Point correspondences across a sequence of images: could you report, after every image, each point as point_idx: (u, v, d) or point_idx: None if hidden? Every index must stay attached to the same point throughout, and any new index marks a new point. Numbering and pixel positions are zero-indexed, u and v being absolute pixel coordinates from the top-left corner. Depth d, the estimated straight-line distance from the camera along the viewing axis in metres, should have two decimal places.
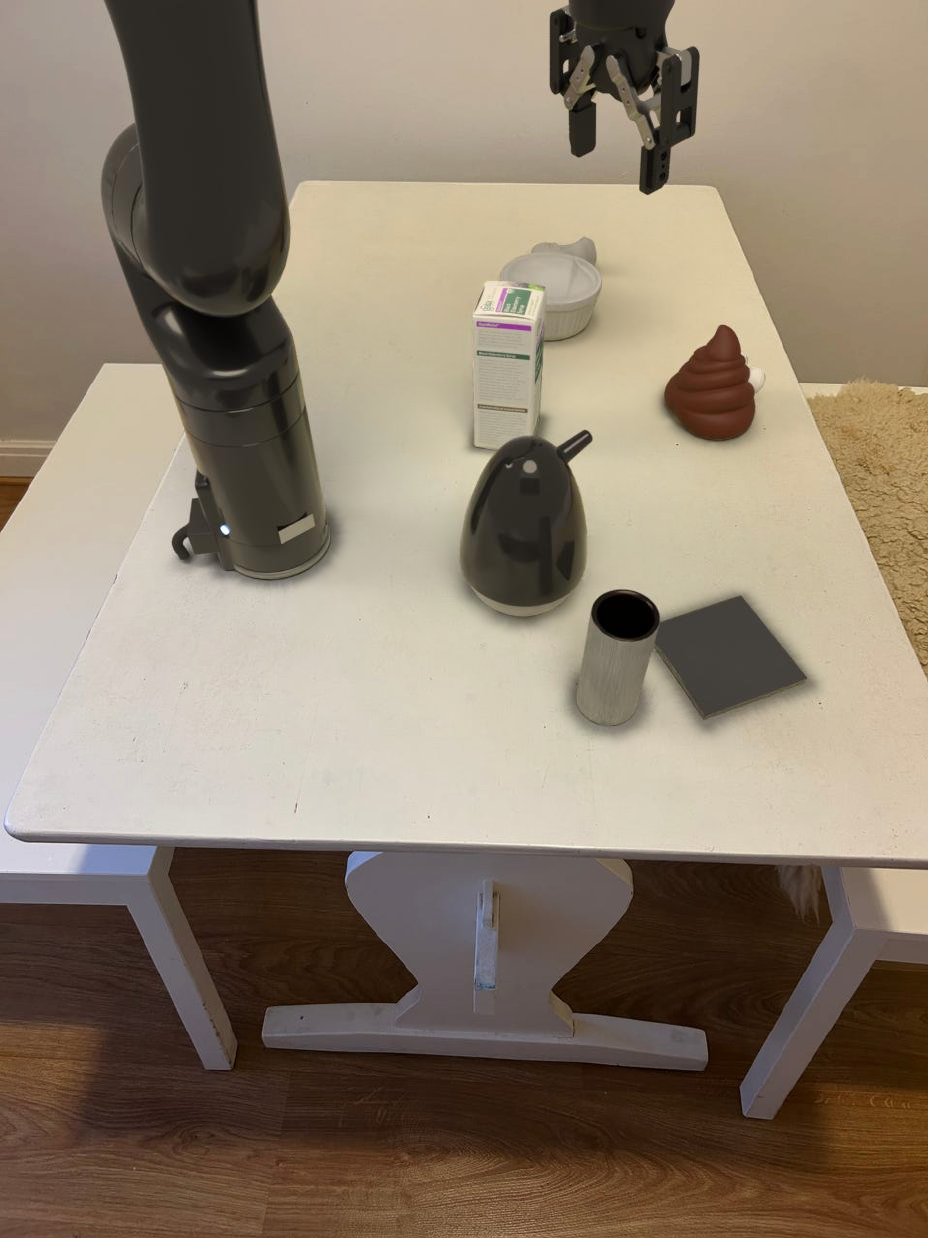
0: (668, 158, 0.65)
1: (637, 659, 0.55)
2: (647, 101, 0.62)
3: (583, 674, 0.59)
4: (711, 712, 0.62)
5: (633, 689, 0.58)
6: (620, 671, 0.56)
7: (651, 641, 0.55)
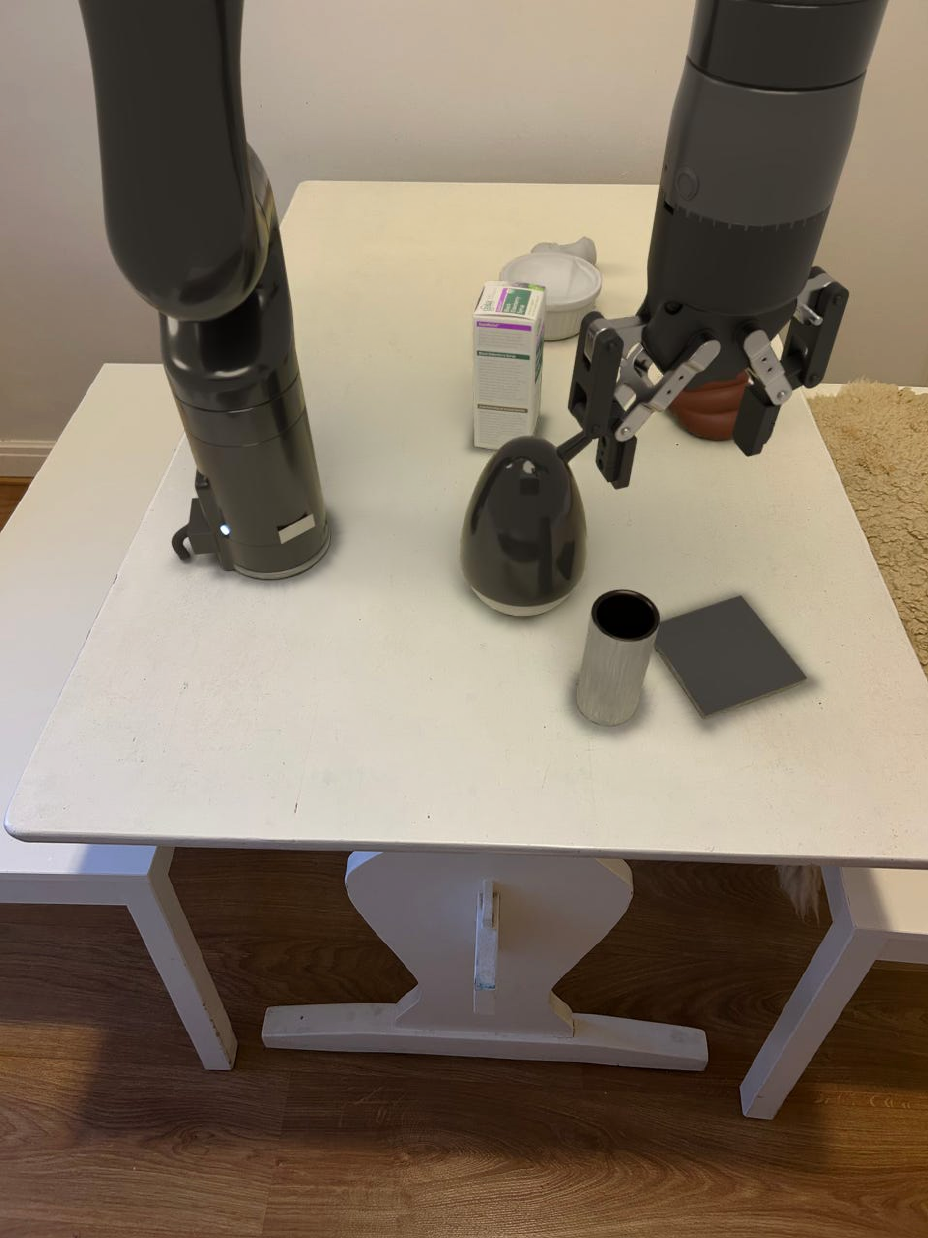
0: (606, 452, 0.46)
1: (637, 659, 0.55)
2: (634, 373, 0.44)
3: (583, 674, 0.59)
4: (711, 712, 0.62)
5: (633, 689, 0.58)
6: (620, 671, 0.56)
7: (651, 641, 0.55)
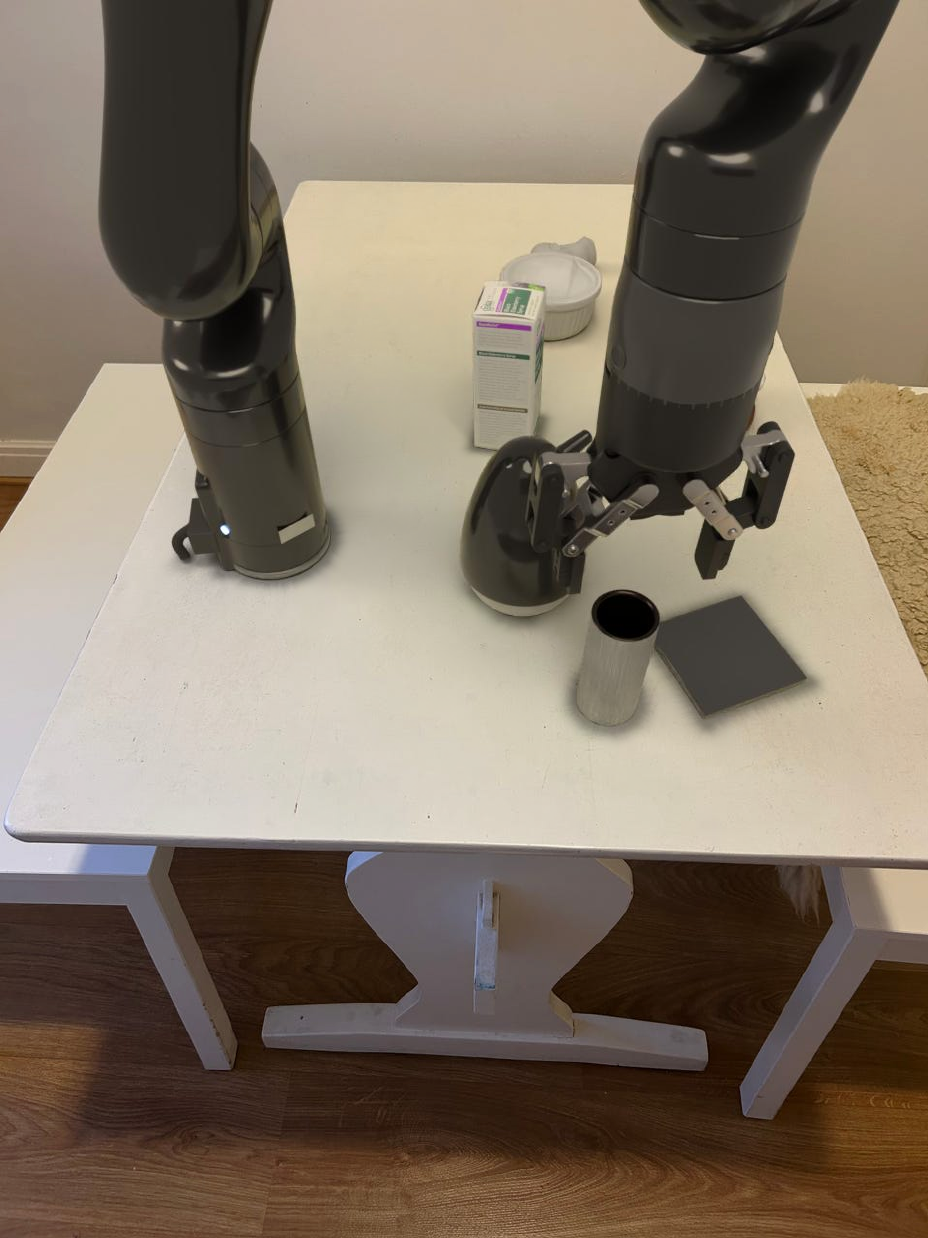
0: (558, 563, 0.50)
1: (637, 659, 0.55)
2: (586, 497, 0.47)
3: (583, 674, 0.59)
4: (711, 712, 0.62)
5: (633, 689, 0.58)
6: (620, 671, 0.56)
7: (651, 641, 0.55)
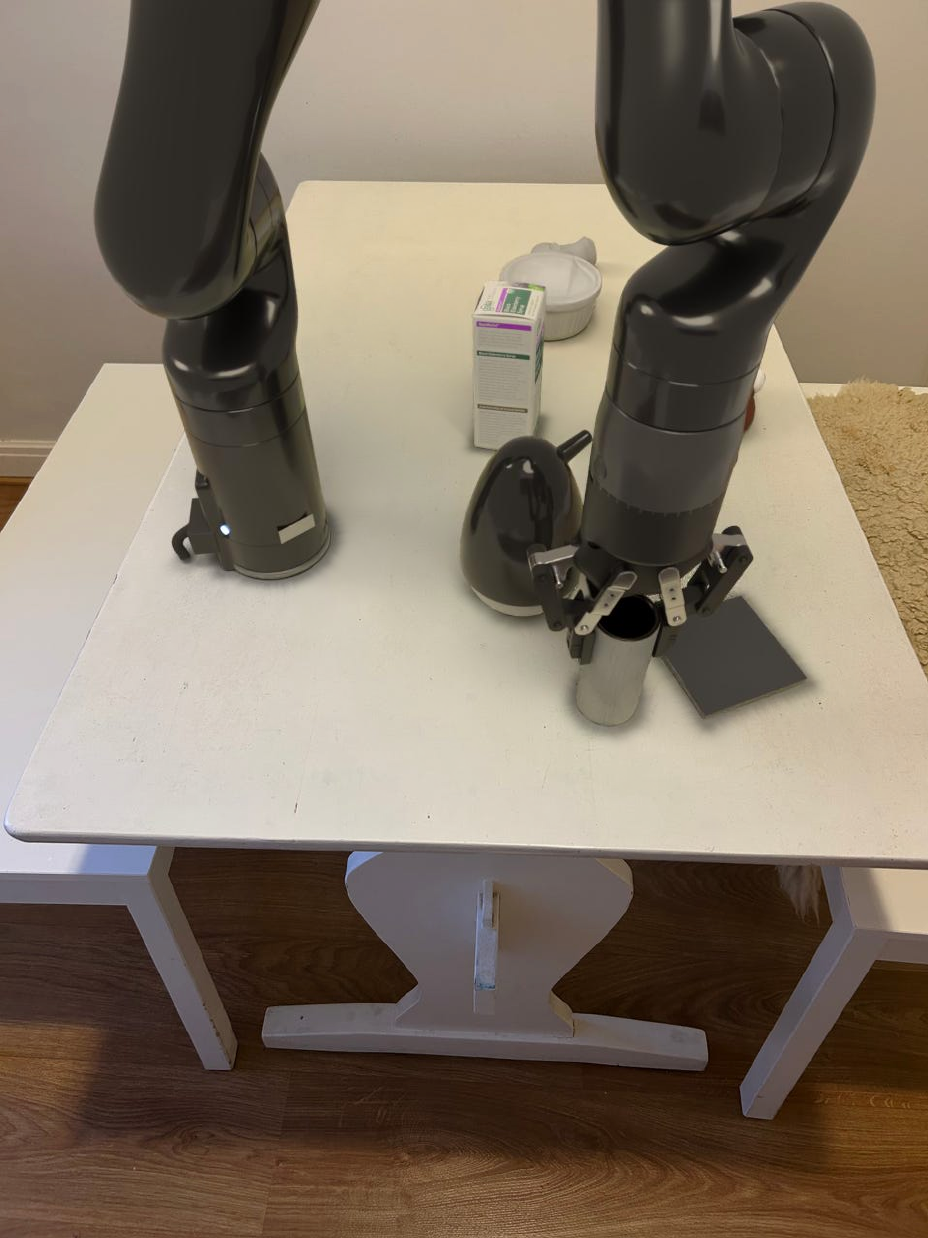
0: (571, 638, 0.56)
1: (637, 659, 0.55)
2: (585, 583, 0.53)
3: (583, 674, 0.59)
4: (711, 712, 0.62)
5: (633, 689, 0.58)
6: (620, 671, 0.56)
7: (652, 641, 0.55)
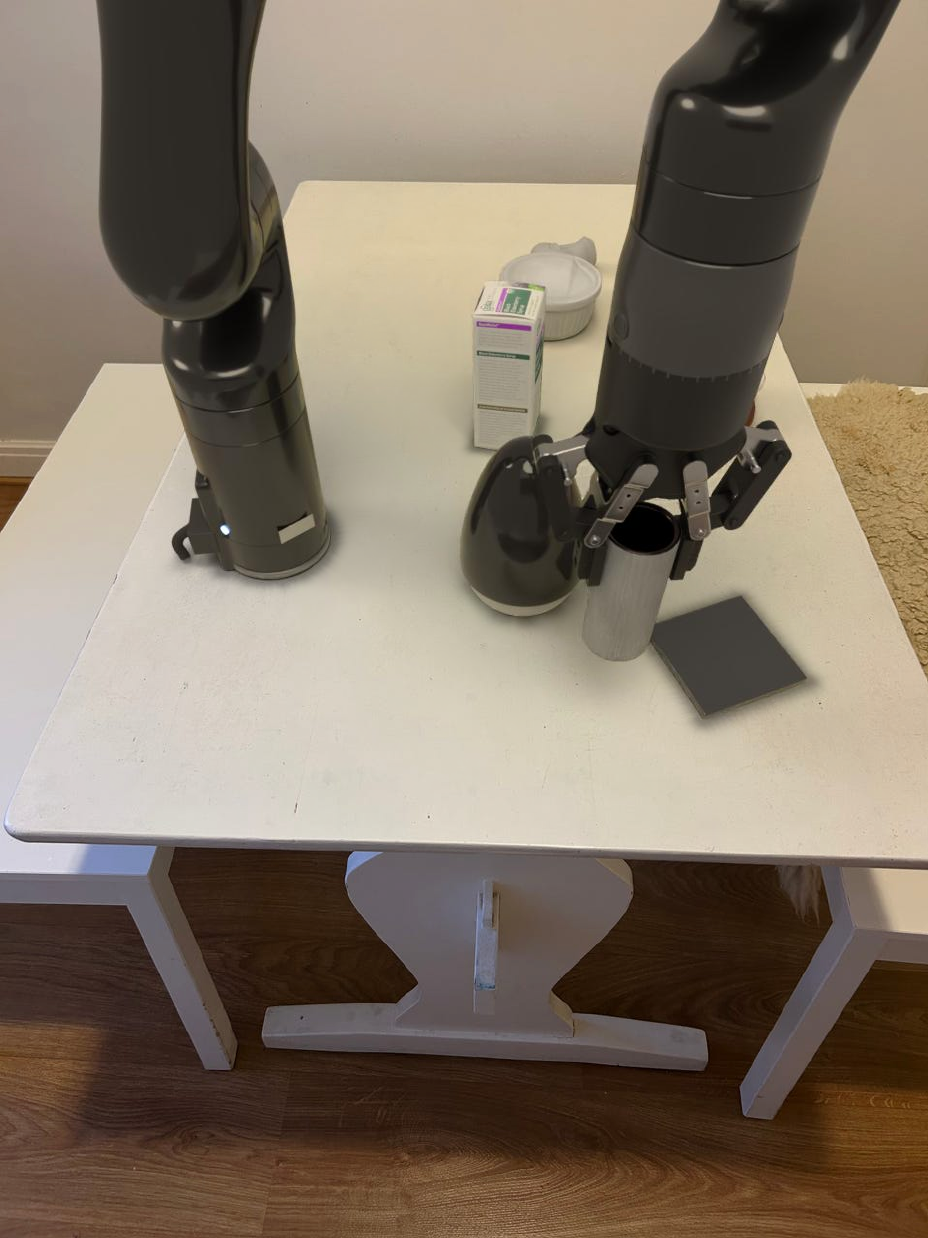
0: (579, 553, 0.49)
1: (654, 578, 0.49)
2: (597, 486, 0.46)
3: (591, 601, 0.53)
4: (711, 712, 0.62)
5: (647, 617, 0.52)
6: (634, 593, 0.50)
7: (671, 557, 0.48)
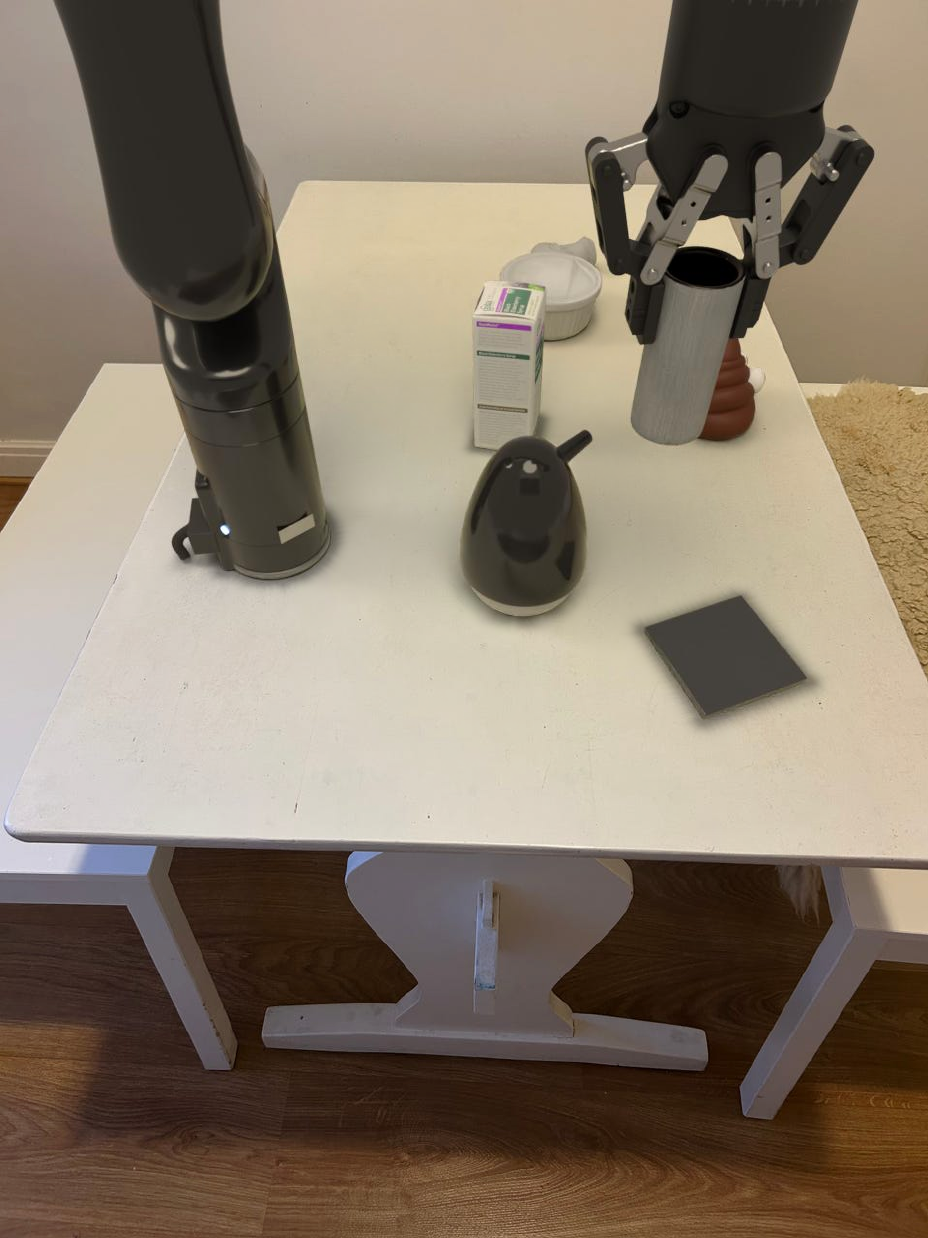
0: (633, 299, 0.45)
1: (716, 324, 0.45)
2: (655, 209, 0.42)
3: (643, 370, 0.49)
4: (711, 712, 0.62)
5: (705, 382, 0.48)
6: (693, 345, 0.46)
7: (734, 297, 0.44)
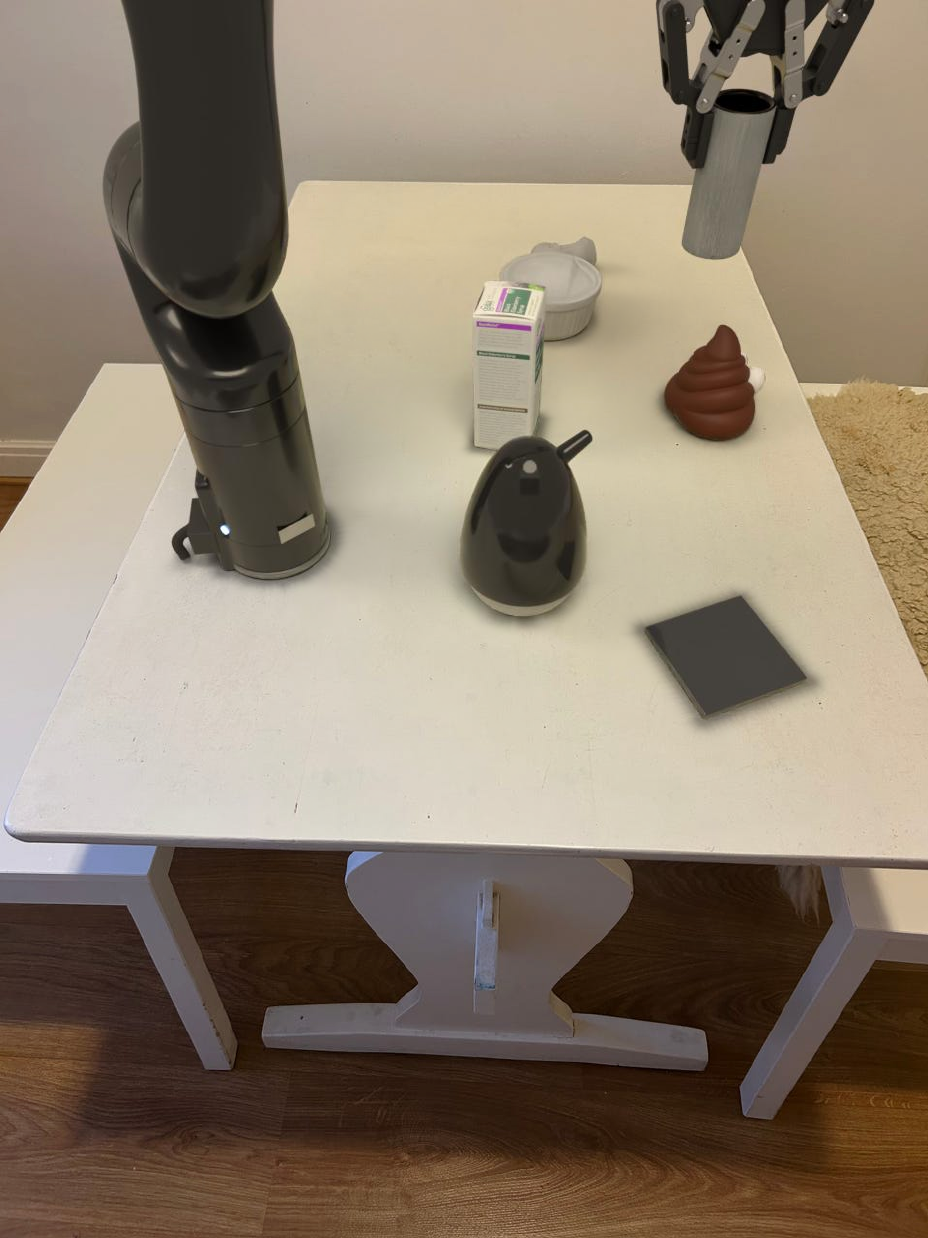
0: (689, 128, 0.58)
1: (753, 146, 0.58)
2: (707, 51, 0.56)
3: (694, 194, 0.62)
4: (711, 712, 0.62)
5: (744, 200, 0.61)
6: (735, 165, 0.59)
7: (768, 123, 0.57)
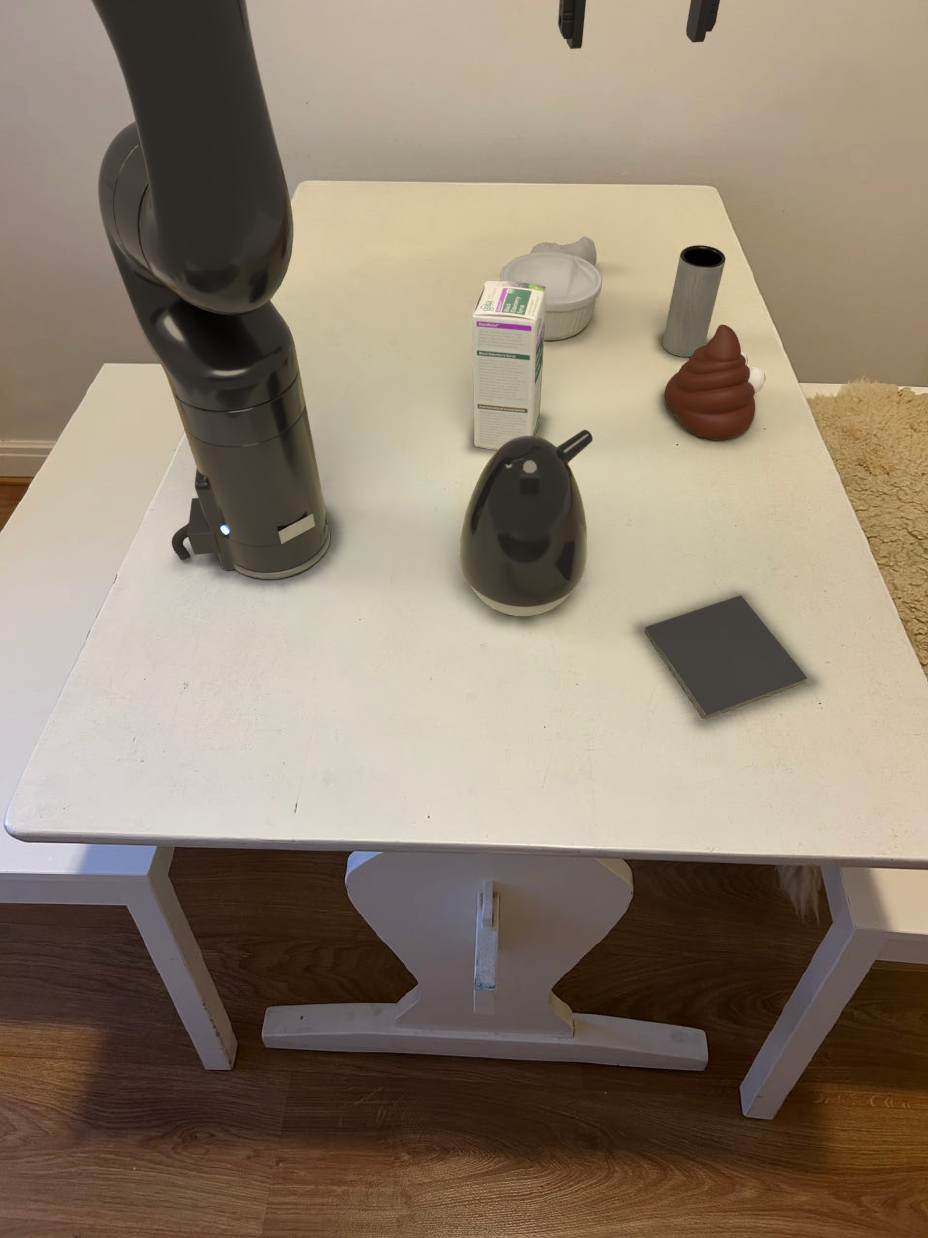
0: (563, 1, 0.55)
1: (710, 286, 0.85)
2: None
3: (670, 313, 0.89)
4: (711, 712, 0.62)
5: (705, 319, 0.88)
6: (698, 298, 0.86)
7: (720, 272, 0.84)
